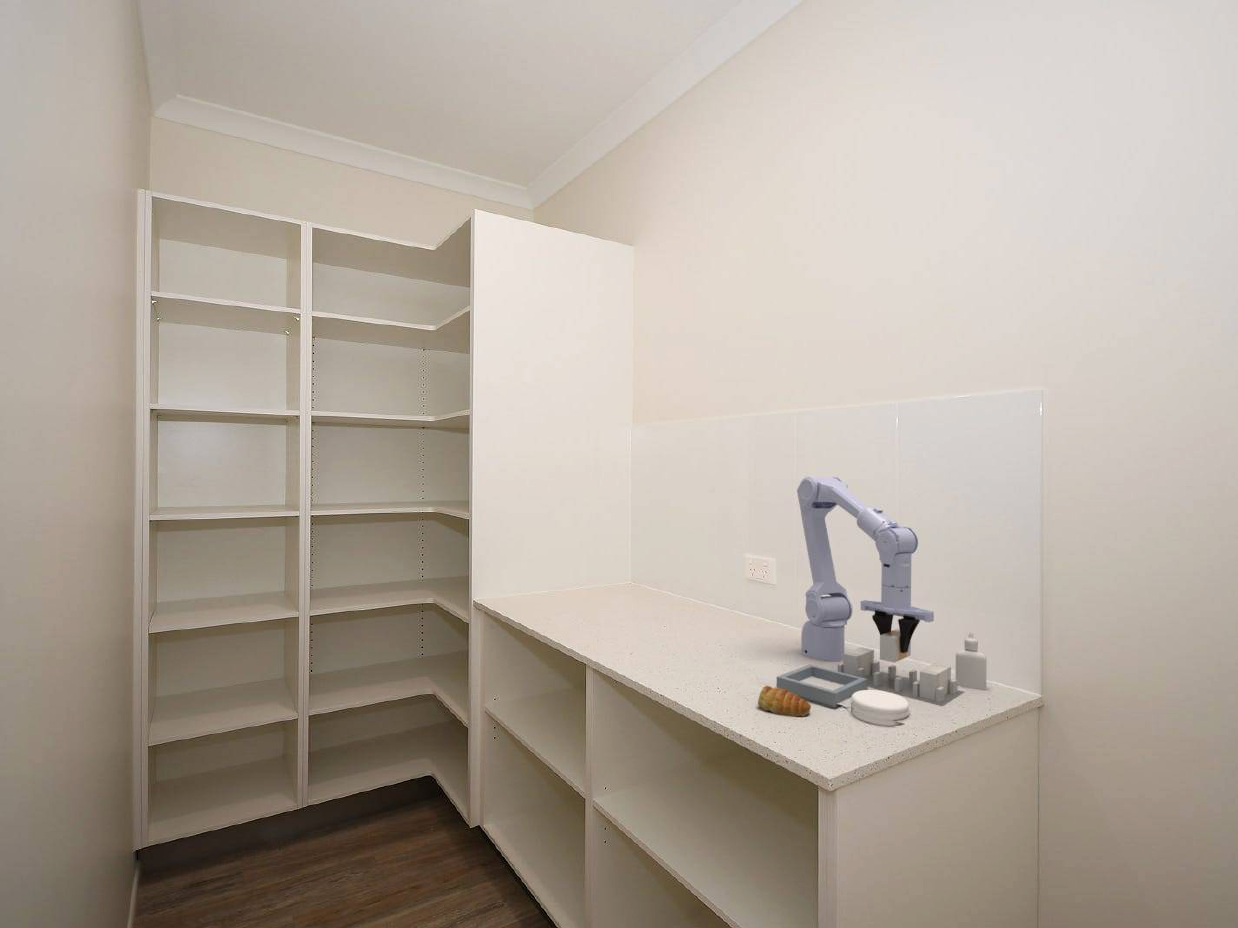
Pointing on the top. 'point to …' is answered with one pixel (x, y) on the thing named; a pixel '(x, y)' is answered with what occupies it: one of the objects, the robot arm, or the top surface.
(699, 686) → the top surface
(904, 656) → the orange fuse
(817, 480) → the robot arm
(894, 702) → the white round tin
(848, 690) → the tray
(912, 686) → the panel
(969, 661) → the eye dropper bottle
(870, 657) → the ivory fuse left
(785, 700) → the pastry
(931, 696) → the block
